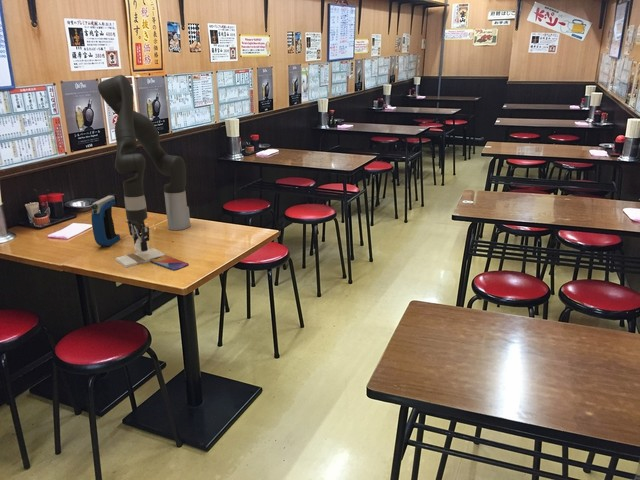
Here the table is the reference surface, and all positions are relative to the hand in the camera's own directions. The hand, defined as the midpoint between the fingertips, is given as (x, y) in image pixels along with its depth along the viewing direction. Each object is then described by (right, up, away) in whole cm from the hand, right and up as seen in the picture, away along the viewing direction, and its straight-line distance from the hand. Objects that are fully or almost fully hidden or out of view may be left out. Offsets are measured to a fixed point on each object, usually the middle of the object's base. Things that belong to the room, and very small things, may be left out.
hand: (141, 248), depth 200 cm
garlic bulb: (0, -1, 0) cm, 1 cm away
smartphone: (+12, -6, -4) cm, 14 cm away
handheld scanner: (-20, +2, +18) cm, 27 cm away
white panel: (-1, -4, +1) cm, 4 cm away
